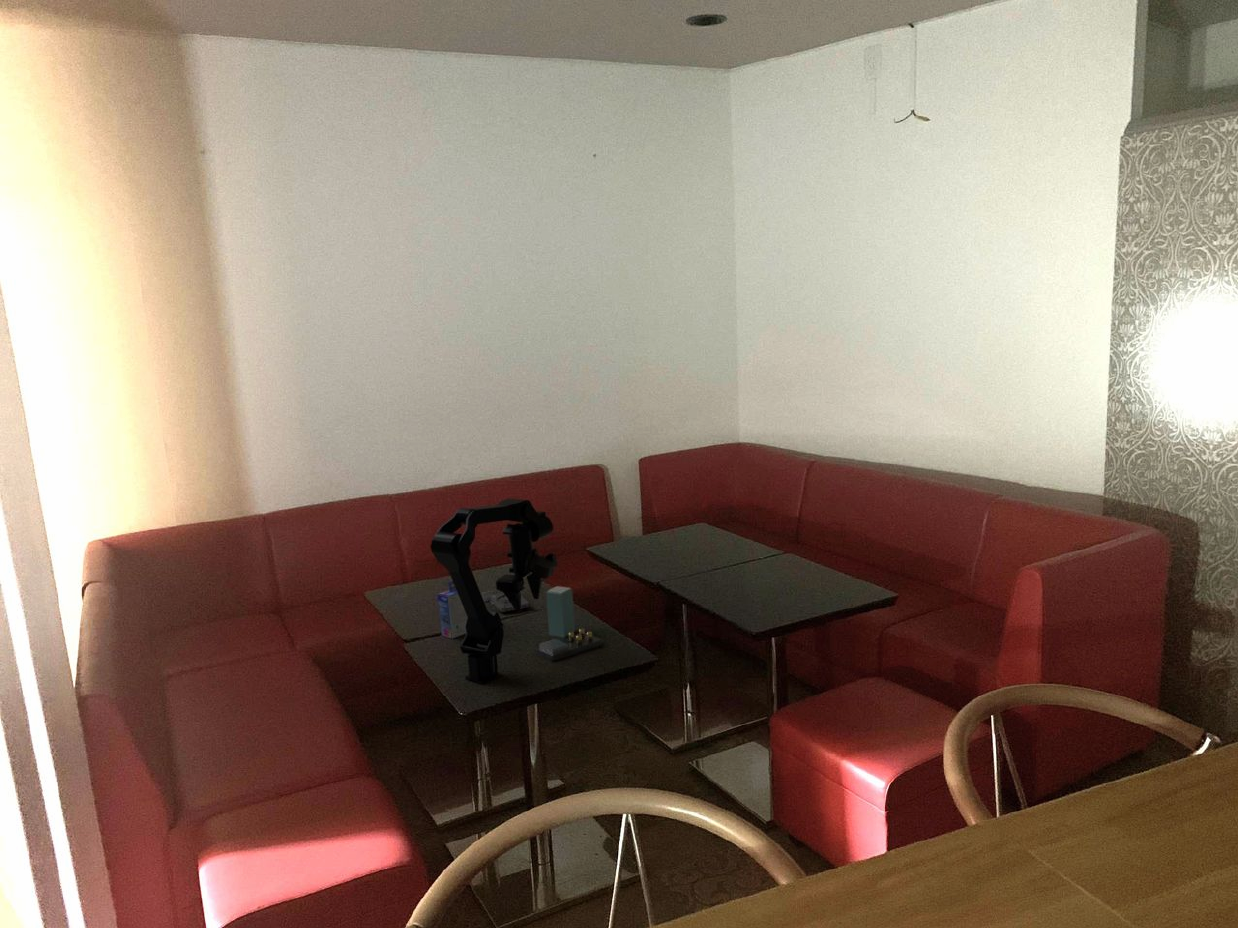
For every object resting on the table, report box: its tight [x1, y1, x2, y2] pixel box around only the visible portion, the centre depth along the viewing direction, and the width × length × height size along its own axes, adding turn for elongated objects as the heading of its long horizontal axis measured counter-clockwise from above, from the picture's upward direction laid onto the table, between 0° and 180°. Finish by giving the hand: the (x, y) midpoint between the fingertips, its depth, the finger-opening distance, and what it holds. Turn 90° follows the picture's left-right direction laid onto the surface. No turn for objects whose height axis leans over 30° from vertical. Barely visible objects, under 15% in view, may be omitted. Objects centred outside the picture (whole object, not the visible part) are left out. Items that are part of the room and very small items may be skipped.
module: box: [545, 586, 576, 638], centre depth 257 cm, size 5×5×12 cm
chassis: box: [533, 627, 603, 662], centre depth 246 cm, size 16×8×4 cm, turn 129°
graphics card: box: [481, 589, 530, 613], centre depth 285 cm, size 17×4×12 cm
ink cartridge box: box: [436, 580, 468, 639], centre depth 262 cm, size 10×6×14 cm, turn 137°
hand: (527, 605), depth 244 cm, fingers open, 9 cm apart
